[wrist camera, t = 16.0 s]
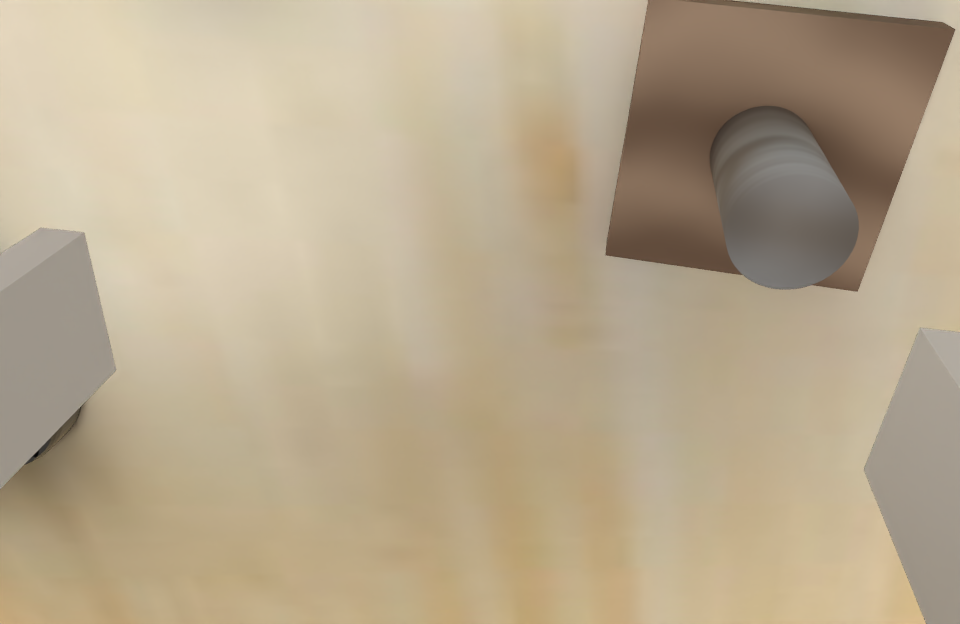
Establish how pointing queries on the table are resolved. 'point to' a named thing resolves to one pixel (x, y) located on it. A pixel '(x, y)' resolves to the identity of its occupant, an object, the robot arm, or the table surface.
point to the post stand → (769, 138)
